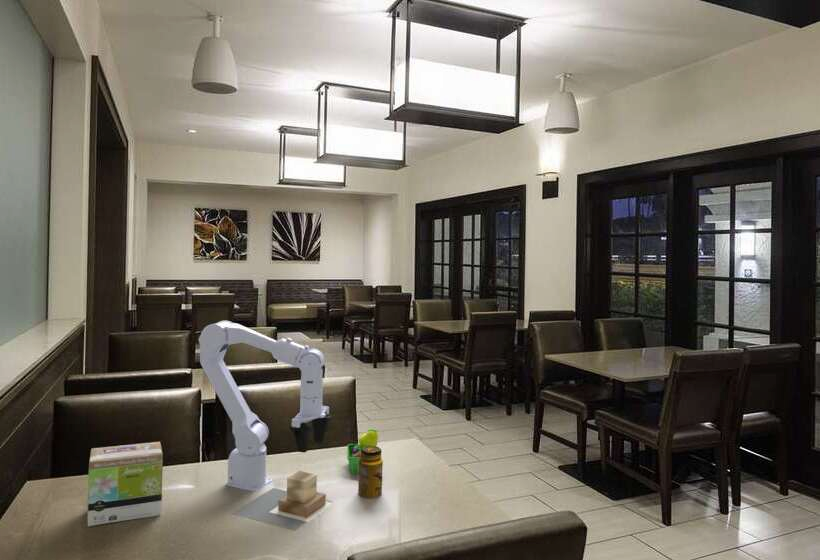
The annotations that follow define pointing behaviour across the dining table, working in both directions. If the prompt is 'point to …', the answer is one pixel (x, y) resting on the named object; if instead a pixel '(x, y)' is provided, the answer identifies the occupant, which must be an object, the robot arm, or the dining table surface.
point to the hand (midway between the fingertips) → (310, 447)
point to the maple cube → (301, 486)
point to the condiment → (370, 472)
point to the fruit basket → (355, 449)
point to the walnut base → (302, 505)
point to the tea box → (124, 483)
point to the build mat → (275, 511)
